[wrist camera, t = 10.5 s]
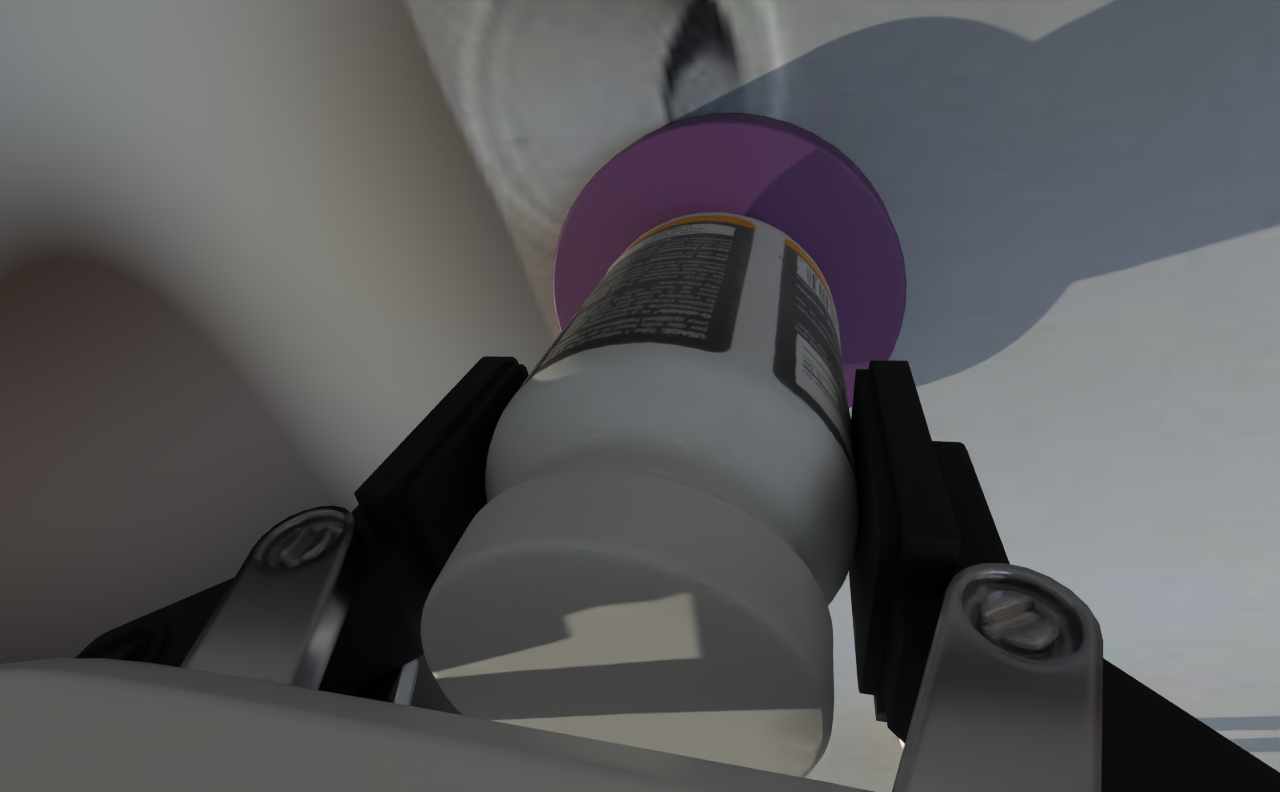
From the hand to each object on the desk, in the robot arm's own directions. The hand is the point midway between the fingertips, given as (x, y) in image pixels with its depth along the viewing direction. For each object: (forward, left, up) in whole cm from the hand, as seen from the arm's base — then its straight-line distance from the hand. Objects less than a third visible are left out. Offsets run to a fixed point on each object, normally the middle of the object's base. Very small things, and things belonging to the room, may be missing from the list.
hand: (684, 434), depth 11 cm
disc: (0, 0, -7) cm, 7 cm away
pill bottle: (0, 0, -5) cm, 5 cm away
